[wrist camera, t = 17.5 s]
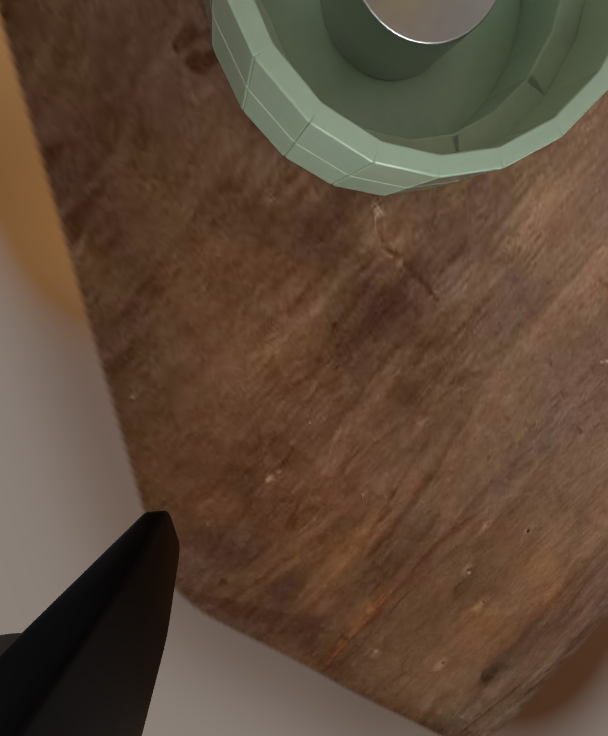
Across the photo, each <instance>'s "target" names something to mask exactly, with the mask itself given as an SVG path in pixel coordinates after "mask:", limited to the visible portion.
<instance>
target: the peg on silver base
mask: <svg viewBox="0 0 608 736" xmlns="http://www.w3.org/2000/svg"><path fill="white" fill-rule="evenodd" d="M496 1H497V0H321V7H322V12H323V17H324V21H325V24H326V27H327V30H328V32H329V34H330V37H331V39H332V41H333V42H334V44H335V46H336V48H337V49H338V50H339V52H340V53H341V54H342V56H343V57H344V58H345V59H346V60H347V61H348V62H349V63H350V64H351V65H353V66H354V67H355V68H356V69H358V70H359V71H361V72H363V73H364V74H366V75H369V76H371V77H374V78H377V79H381V80H389V81H394V80H403V79H408V78H411V77H413V76H416V75H418V74H420V73H421V72H423V71H425V70H426V69H427V68H429V67H430V66H431V65H432V64H434V63H435V62H436V61H437V60H438V59H440V58H441V57H442V56H443V55H444V54H445V53H447V52H448V51H449V50H450V49H451V48H453V47H454V46H455V45H456V44H457V43H459V42H460V41H461V40H462V39H463V38H464V37H466V36H467V35H468V34H469V33H470V32H472V31H473V30H474V29H475V28H476V27H477V26H478V25H479V24H480V23H481V22H482V21H483V20H484V19H485V18H486V16H487V15H488V14H489V13H490V11H491V10H492V8H493V6H494V5H495V3H496Z"/></svg>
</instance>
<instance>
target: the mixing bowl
mask: <svg viewBox="0 0 608 736" xmlns="http://www.w3.org/2000/svg"><path fill="white" fill-rule="evenodd" d="M204 4H205V10H206V15H207V21H208V26H209V32H210V37H211V43H212V46H213V50H214V52H215V54H216V57H217V59H218V61H219V63H220V65H221V67H222V69H223V71H224V73H225V75H226V77H227V80H228V82H229V84H230V86H231V88H232V90H233V92H234V94H235V96H236V98H237V100H238V103H239V105H240V107H241V109H243V111H244V112H245V114H246V115H247V116H248V117H249V118H250V119H251V120H252V121H253V123H254V124H255V125H256V126H257V127H258V128H259V129H260V130H261V132H262V133H263V134H264V135H265V136H266V137H267V138H268V139H269V141H270V142H271V143H272V144H273V145H274V146H275V147H276V148H277V150H278V151H279V152H280V153H281V154H282V155H285V157H286V158H287V159H289V160H291V161H292V162H294V163H296V164H297V165H299V166H301V167H302V168H304V169H306V170H308V171H309V172H311V173H313V174H314V175H316V176H318V177H319V178H321V179H323V180H324V181H326V182H328V183H329V184H333V185H334V186H337V187H342V188H347V189H352V190H357V191H362V192H367V193H372V194H377V195H381V196H382V195H393V194H399V193H406V192H413V191H419V190H426V189H432V188H435V187H439V186H442V185H446V184H450V183H453V182H457V181H460V180H464V179H467V178H471V177H474V176H478V175H481V174H485V173H488V172H492V171H496V170H499V169H502V168H505V167H507V166H509V165H511V164H513V163H515V162H516V161H518V160H520V159H522V158H524V157H526V156H528V155H530V154H531V153H533V152H535V151H537V150H539V149H541V148H543V147H544V146H546V145H548V144H550V143H552V142H554V141H556V140H557V139H559V138H560V137H561V136H563V135H564V134H565V133H566V132H567V131H568V130H569V129H570V128H571V127H572V126H573V125H574V124H575V123H576V122H577V121H578V120H579V119H580V118H581V117H582V116H583V115H584V114H585V113H586V112H587V111H588V110H589V109H590V108H591V107H592V105H593V104H594V103H595V102H596V101H597V100H598V99H599V98H600V97H601V96H602V95H603V94H604V93H605V92H606V91H607V90H608V0H497V1H496V3H495V5H494V6H493V8H492V10H491V11H490V13H489V14H488V15H487V16H486V18H485V19H484V20H483V21H482V22H481V23H480V24H479V25H478V26H477V27H476V28H475V29H474V30H473V31H472V32H470V33H469V34H468V35H467V36H466V37H464V38H463V39H462V40H461V41H460V42H459V43H457V44H456V45H455V46H454V47H453V48H451V49H450V50H449V51H448V52H447V53H445V54H444V55H443V56H442V57H441V58H440V59H438V60H437V61H436V62H435V63H434V64H432V65H431V66H430V67H429V68H427V69H426V70H425V71H423V72H421V73H420V74H418V75H416V76H413V77H411V78H408V79H403V80H394V81H389V80H381V79H377V78H374V77H371V76H369V75H366V74H364V73H363V72H361V71H359V70H358V69H356V68H355V67H354V66H353V65H351V64H350V63H349V62H348V61H347V60H346V59H345V58H344V57H343V56H342V54H341V53H340V52H339V50H338V49H337V48H336V46H335V44H334V42H333V41H332V39H331V37H330V34H329V32H328V30H327V27H326V24H325V21H324V17H323V12H322V7H321V0H204Z"/></svg>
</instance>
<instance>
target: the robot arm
mask: <svg viewBox="0 0 608 736" xmlns="http://www.w3.org/2000/svg"><path fill="white" fill-rule="evenodd" d="M178 559H179V541H178V537H177V534H176V531H175V528H174V525H173V522H172V519H171V516H170V514H169V513H168V512H167V511H154V512H147V513H145V514H143V515H142V516H141V517H140V518H139V519H138V520H137V521H136V522H135V523H134V524H133V525H132V526H131V527H130V528H129V529H128V530H127V531H126V532H125V533H124V534H123V535H122V536H121V537H120V538H119V539H118V540H117V541H116V542H115V543H113V544H112V546H110V547H109V548H108V549H107V550H106V551H105V552H104V553H103V554H102V555H101V556H100V557H99V558H98V559H97V560H96V561H95V562H94V563H93V564H92V565H91V566H90V567H89V568H88V569H87V570H86V571H85V572H84V573H83V574H82V575H81V576H80V577H79V578H78V579H77V580H76V581H75V582H74V583H73V584H72V585H71V586H70V587H68V588H67V589H66V591H64V592H63V594H61V596H59V597H58V598H57V599H56V600H55V601H54V602H53V603H52V604H51V605H50V606H49V607H48V608H47V609H46V610H45V611H44V612H43V613H42V614H41V615H40V616H39V617H38V618H37V619H36V620H35V621H34V622H33V623H32V624H31V625H30V626H29V627H28V628H27V629H26V630H25V631H24V632H22V633H21V634H20V635H19V636H18V637H17V638H16V639H15V640H14V641H13V642H12V643H11V644H10V645H9V646H8V647H7V648H6V649H5V650H4V651H3V652H2V653H1V654H0V736H142V733H143V729H144V724H145V721H146V717H147V713H148V709H149V705H150V701H151V697H152V693H153V690H154V685H155V682H156V678H157V674H158V670H159V666H160V662H161V658H162V654H163V650H164V646H165V642H166V637H167V632H168V626H169V620H170V613H171V607H172V600H173V592H174V586H175V579H176V572H177V566H178Z"/></svg>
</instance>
